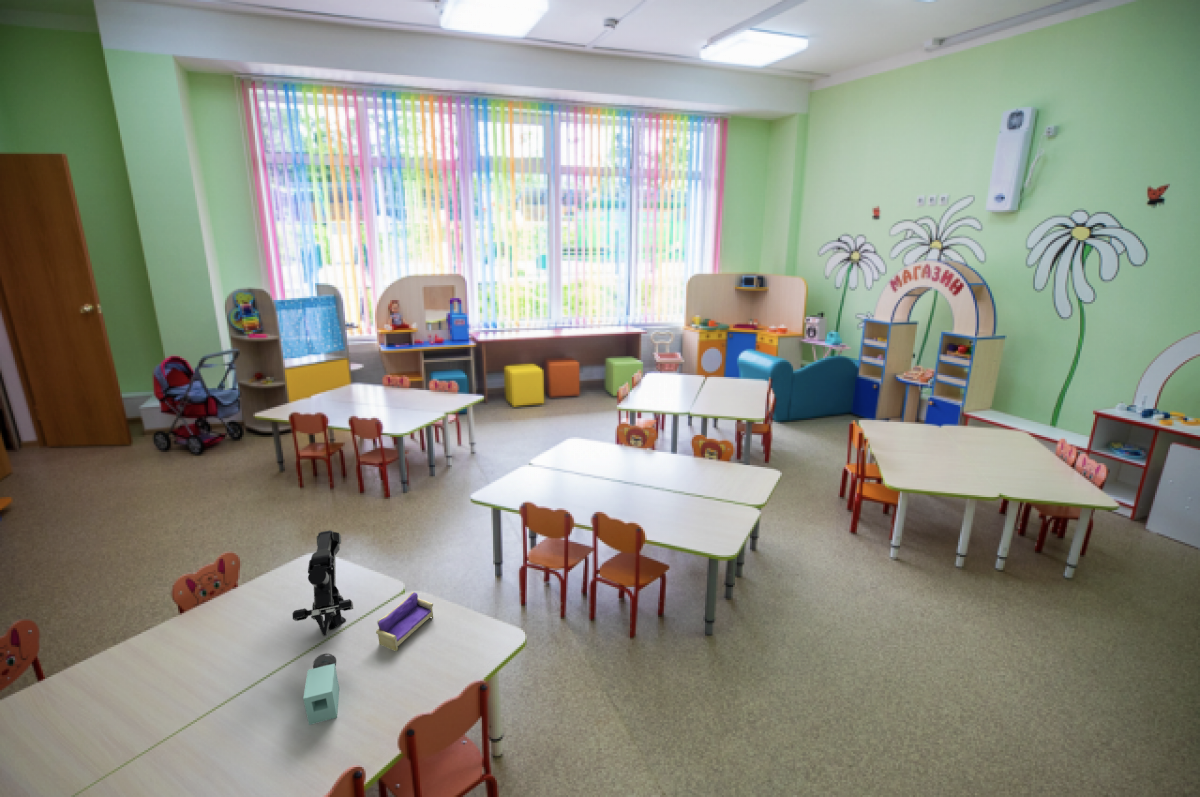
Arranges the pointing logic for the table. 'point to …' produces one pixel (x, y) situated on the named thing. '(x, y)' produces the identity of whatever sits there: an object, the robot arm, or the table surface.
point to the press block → (321, 694)
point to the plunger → (324, 660)
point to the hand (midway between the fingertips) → (324, 635)
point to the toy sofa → (403, 621)
